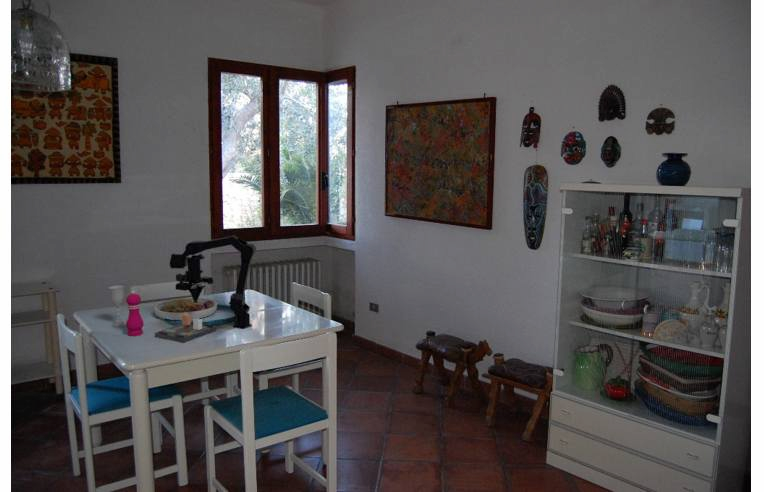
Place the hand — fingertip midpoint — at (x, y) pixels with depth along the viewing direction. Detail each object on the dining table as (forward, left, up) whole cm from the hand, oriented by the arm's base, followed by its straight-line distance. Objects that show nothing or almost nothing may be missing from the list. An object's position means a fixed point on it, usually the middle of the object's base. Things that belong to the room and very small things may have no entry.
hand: (195, 301), depth 272 cm
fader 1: (0, +6, -9) cm, 11 cm away
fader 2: (-9, +9, -9) cm, 16 cm away
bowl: (+20, -14, -13) cm, 27 cm away
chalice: (+34, +15, -12) cm, 39 cm away
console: (-5, +11, -12) cm, 17 cm away
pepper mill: (+15, +22, -12) cm, 29 cm away
